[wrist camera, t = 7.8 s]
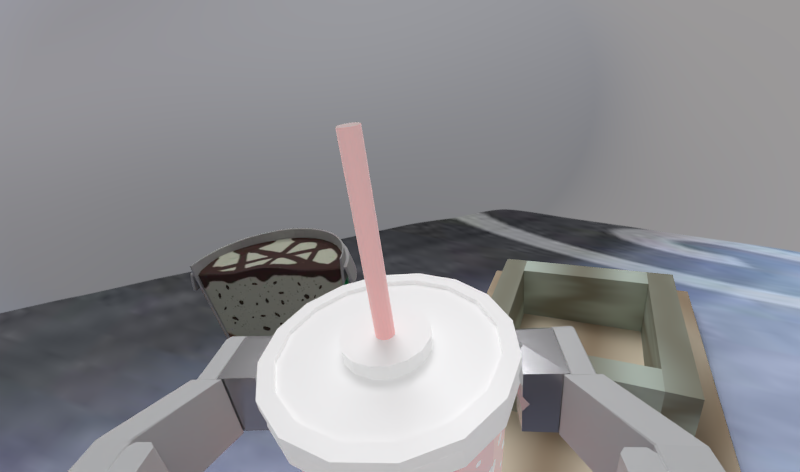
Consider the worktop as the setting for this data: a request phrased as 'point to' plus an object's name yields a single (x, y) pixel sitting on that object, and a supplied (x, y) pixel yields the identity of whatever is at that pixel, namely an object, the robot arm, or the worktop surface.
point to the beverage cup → (390, 364)
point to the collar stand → (615, 351)
